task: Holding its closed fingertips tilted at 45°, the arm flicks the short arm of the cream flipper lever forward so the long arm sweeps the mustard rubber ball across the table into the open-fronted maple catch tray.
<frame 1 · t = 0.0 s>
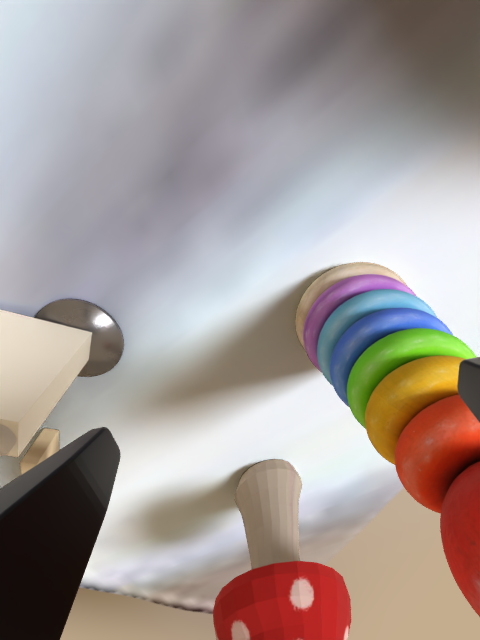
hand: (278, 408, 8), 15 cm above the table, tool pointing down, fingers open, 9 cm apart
pivot plate: (79, 338, 24), on the table
stacking toy: (347, 311, 24), on the table
decorative mushroom: (266, 477, 31), on the table
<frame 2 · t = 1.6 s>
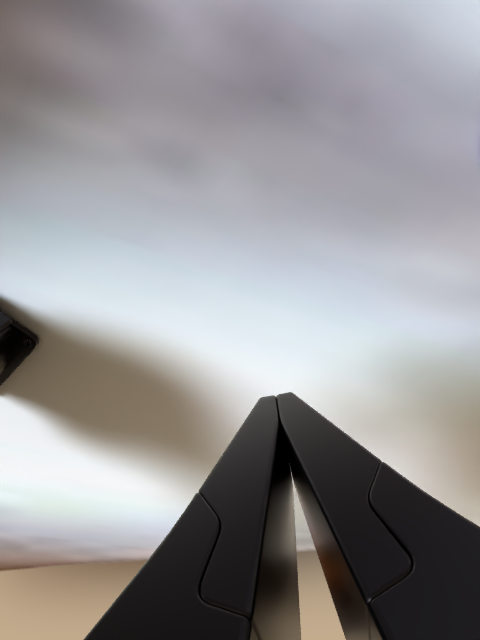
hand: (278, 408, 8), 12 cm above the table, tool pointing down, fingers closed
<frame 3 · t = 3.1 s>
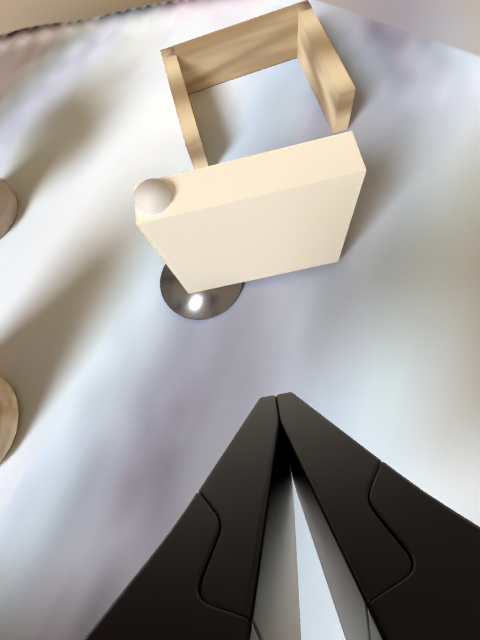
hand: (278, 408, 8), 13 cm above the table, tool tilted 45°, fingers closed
pivot plate: (201, 279, 25), on the table
catch tray: (254, 108, 29), on the table
lever: (252, 228, 20), point 5 cm above the table, hinge at 0.0°
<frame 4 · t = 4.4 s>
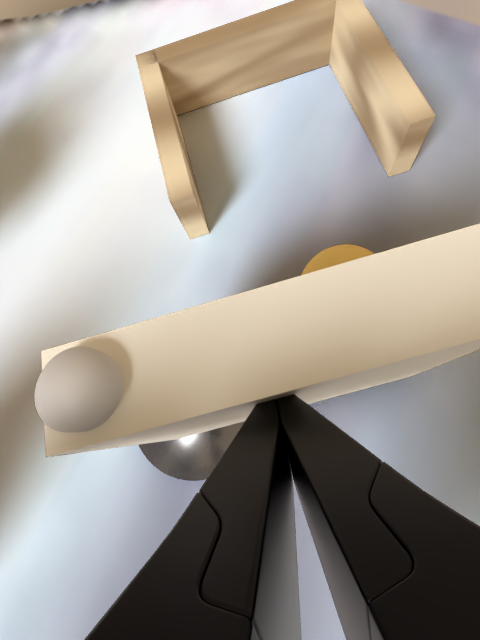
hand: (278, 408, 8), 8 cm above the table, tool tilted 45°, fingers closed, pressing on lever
pivot plate: (196, 408, 16), on the table
catch tray: (270, 136, 21), on the table
ball: (343, 289, 15), point 2 cm above the table, touching lever
lever: (282, 367, 11), point 5 cm above the table, hinge at 4.4°, touching ball, gripper
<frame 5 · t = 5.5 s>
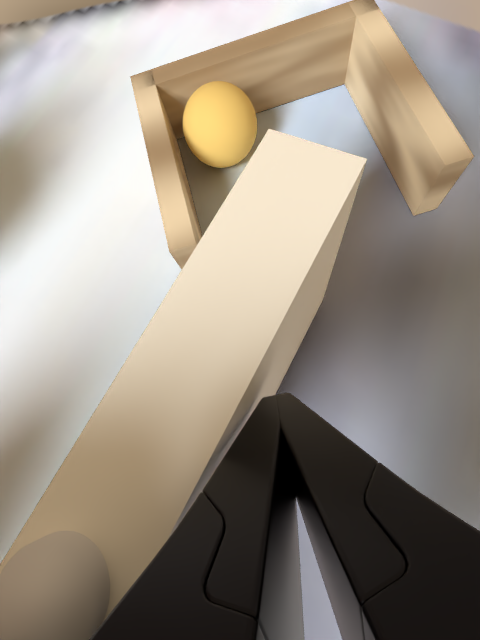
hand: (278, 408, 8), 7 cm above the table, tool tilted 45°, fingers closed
catch tray: (280, 166, 19), on the table
ball: (220, 126, 18), point 2 cm above the table, tilted 40°
lever: (230, 380, 10), point 5 cm above the table, hinge at 51.3°, touching gripper
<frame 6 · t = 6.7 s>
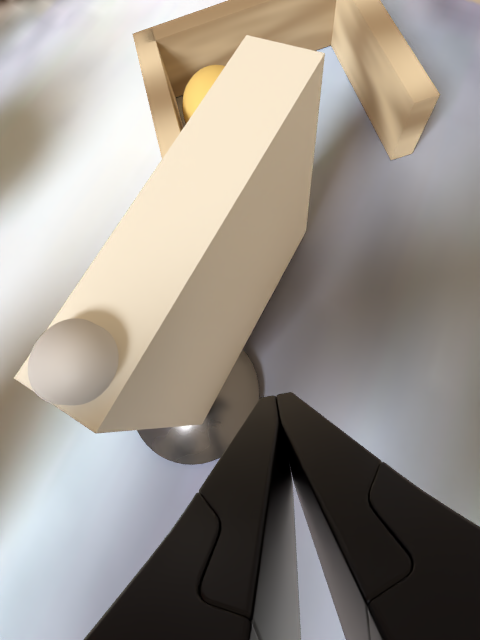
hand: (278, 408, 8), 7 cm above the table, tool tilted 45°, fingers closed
pivot plate: (194, 393, 16), on the table
catch tray: (270, 119, 20), on the table
ball: (218, 109, 18), point 2 cm above the table, tilted 27°
lever: (218, 273, 12), point 5 cm above the table, hinge at 51.6°
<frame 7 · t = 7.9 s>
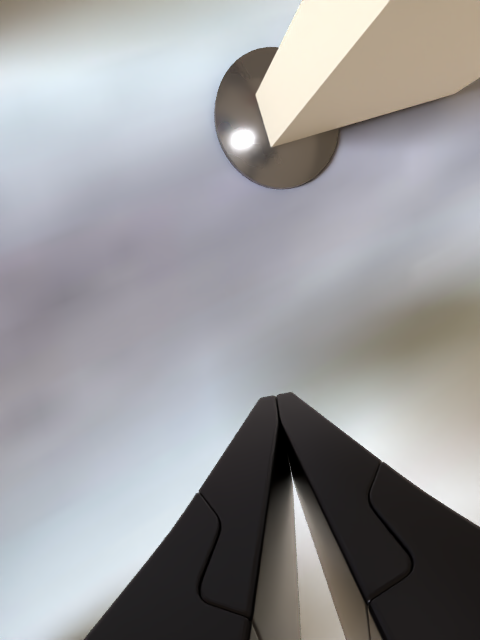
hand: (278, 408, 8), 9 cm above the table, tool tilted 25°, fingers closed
pivot plate: (277, 122, 16), on the table
lever: (433, 27, 12), point 5 cm above the table, hinge at 51.6°
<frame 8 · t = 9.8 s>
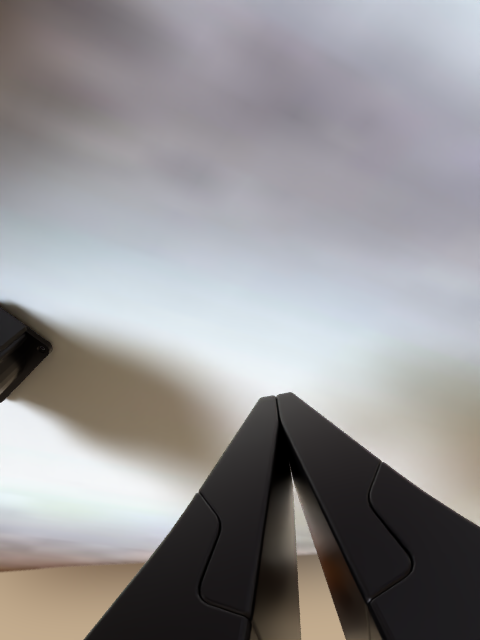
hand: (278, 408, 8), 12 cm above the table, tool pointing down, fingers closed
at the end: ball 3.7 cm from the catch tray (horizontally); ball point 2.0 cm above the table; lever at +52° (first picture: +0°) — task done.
